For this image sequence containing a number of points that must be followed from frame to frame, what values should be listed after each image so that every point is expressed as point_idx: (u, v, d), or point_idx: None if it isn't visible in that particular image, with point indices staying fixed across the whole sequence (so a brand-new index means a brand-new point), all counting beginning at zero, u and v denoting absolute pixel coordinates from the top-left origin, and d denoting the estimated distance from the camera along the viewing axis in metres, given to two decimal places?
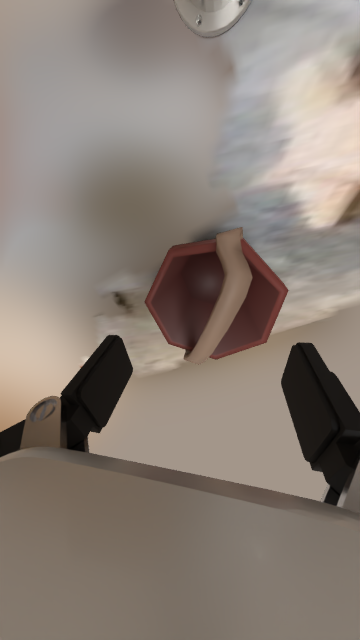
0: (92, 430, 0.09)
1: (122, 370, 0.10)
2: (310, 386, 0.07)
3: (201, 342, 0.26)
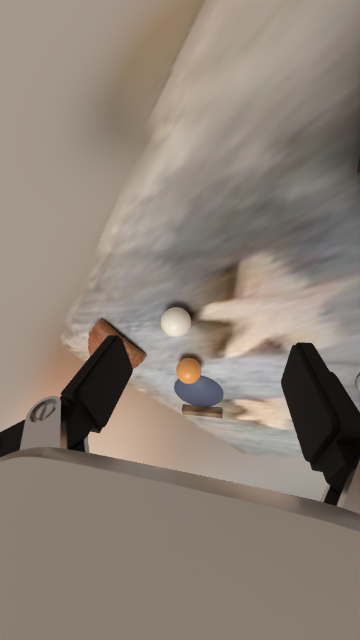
0: (92, 430, 0.09)
1: (122, 370, 0.10)
2: (310, 386, 0.07)
3: None
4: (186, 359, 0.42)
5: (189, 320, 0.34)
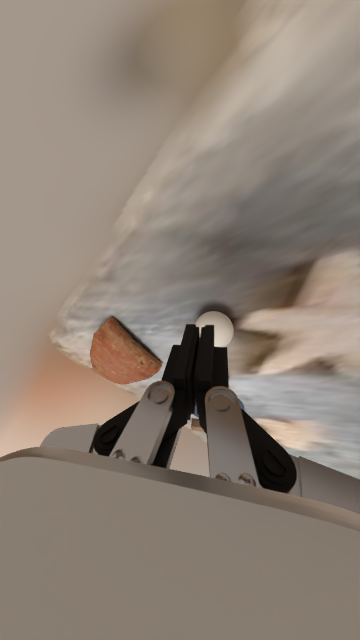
0: None
1: None
2: None
3: None
4: None
5: (233, 330, 0.26)
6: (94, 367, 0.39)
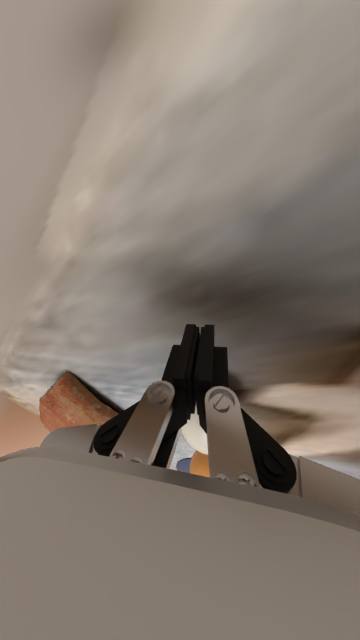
0: None
1: None
2: None
3: None
4: None
5: None
6: (51, 431, 0.28)
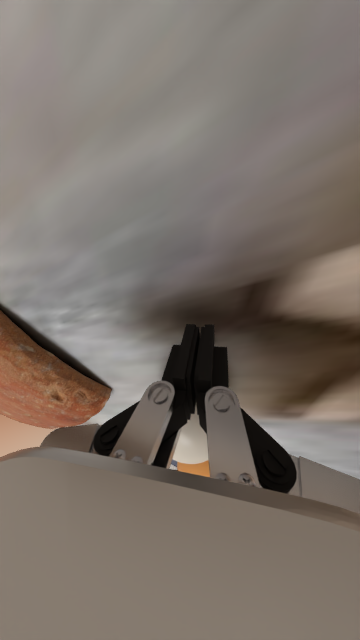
0: None
1: None
2: None
3: None
4: None
5: None
6: None
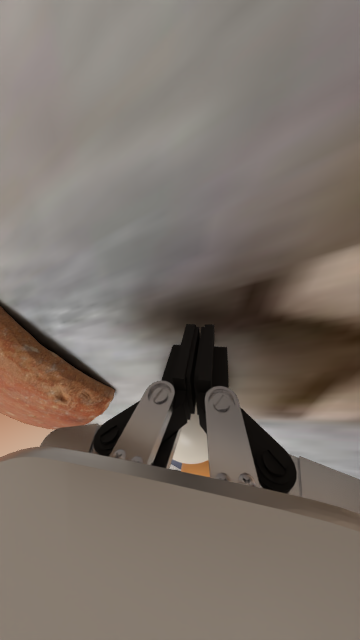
0: None
1: None
2: None
3: None
4: None
5: None
6: None
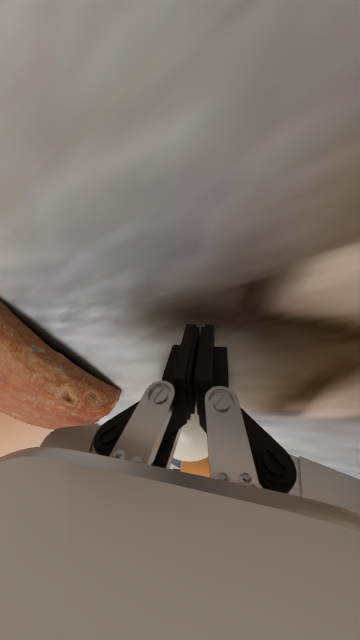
0: None
1: None
2: None
3: None
4: None
5: None
6: None
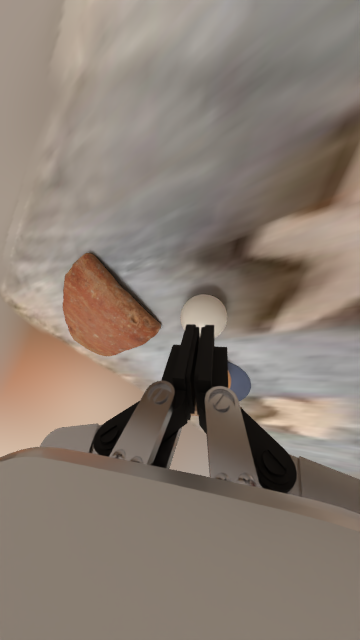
0: None
1: None
2: None
3: None
4: None
5: None
6: (71, 331, 0.29)
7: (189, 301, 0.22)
